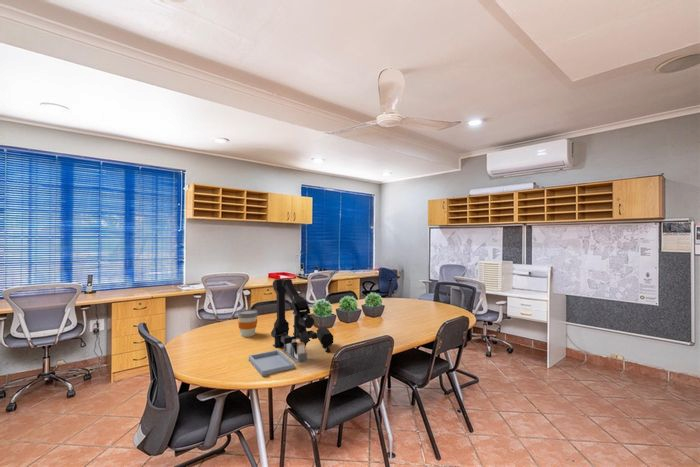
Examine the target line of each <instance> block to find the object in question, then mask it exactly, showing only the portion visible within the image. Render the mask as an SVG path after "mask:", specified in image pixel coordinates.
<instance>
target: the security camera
mask: <svg viewBox="0 0 700 467" xmlns="http://www.w3.org/2000/svg"><path fill="white" fill-rule="evenodd" d="M316 333H317V339H318V341H319V342H320V344H321V346H322V348H323V349H325V351H324V352H325V353H327V354H328V353H331V350H330V347H331V346H333V344H334V335H333V334H332V332H331V331H330V330H329V329H328V328H327V327H326V326H319V327H318V328H317V329H316Z"/></svg>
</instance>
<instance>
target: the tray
mask: <svg viewBox="0 0 700 467" xmlns="http://www.w3.org/2000/svg"><path fill="white" fill-rule="evenodd" d="M248 361H249V362H250V364H251V365H252V366H253V367H254V368H255V370H256V371H257V372H258V373H259V375H260V376H261V377H267V376H270V375H271V374H276V373H280V372H284V371H288V370H293V369H295V367H296V366H295V364H296V363H295V362H294V361H293V360H291V359H290V358H289V357H288V356H287V355H286V354H285V353H283V352H282V351H280V350H279V349H275V350H271V351H270V350H269V351H264V352H259V353H253V354H249V355H248Z"/></svg>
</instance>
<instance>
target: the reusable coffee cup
mask: <svg viewBox="0 0 700 467" xmlns="http://www.w3.org/2000/svg"><path fill="white" fill-rule="evenodd" d="M258 314H259V313H258V310H256V309H243V310H242V309H241V310H239V311H238V312H237V319H238V321H237V323H238V324H237V325H238V329H239V334H240V337H244V338H248V337H250V338H251V337H253V336H255V335H256V327H258V326H257V324H258Z"/></svg>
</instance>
